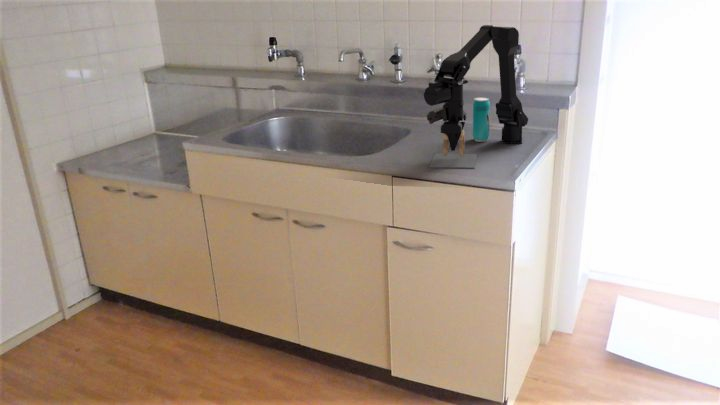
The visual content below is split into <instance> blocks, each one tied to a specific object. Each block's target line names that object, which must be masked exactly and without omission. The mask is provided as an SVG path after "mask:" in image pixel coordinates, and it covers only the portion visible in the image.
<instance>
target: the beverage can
mask: <svg viewBox="0 0 720 405" xmlns="http://www.w3.org/2000/svg"><path fill="white" fill-rule="evenodd" d="M490 104H491V102H490V98H489V97H484V96H483V97H482V96H481V97H474V99H473V103H472V137H473V140H474V141H475V142H478V143H485V142H488V140H489V137H490V115H491V114H490V110H491V109H490V108H491V105H490Z"/></svg>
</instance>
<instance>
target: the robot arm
mask: <svg viewBox="0 0 720 405" xmlns="http://www.w3.org/2000/svg"><path fill="white" fill-rule="evenodd" d="M519 33H520V32H519V30H518V29H517V28H516V27H513V26H510V27H509V26H496V25H493V24H491V25H490V24H483V25H482V26H480V27H479V30H477V32H476V33H475V34H474V35H473V36H472V37H471V39H469V40H468V41H467V42H466V43H465V44H464V46H462V48H461V49H460V50H458V51H457V52H455V53H452V54H449V55H448V56H447V57H445V59H443V60H442V62H441V63H440V67H439V69H438V72H437V74H436V76H435V77H434V80H433V81H434V82H431V81H430V82H429V83H428V87H426V88H425V90H424V92H423V98H424V101H425V103H426V104H427V105H428V106H431V107H432V106H436V105H441V104H443V105H442V106H440V107H438V108H435V109H432V110H429V111H427V113H426V114H425V116H426V117H427V118H426V120H427V121H428V123H429V124H430V125H431V124H434V123H435V122H438V121H439V122H440V121H441V120H442V124H441V126H440V133H441V134H444V133H445V134H446V135H447V136H448V139H449V148H450V150H451V151H453V152H454V151H456V148H457V146H458V144H459V143H458V142H459V138H460V135H461V133H462V130H464V127H465V124H466V120H467V112H466V111H464V105H465V104H464V103H465V102H464V85H466V84H468V83H469V81H468V79H466V78H465V77H466V75H467V73H468V71H469V70H470V69H471V64H472V62H473V60H474V59H475V58H477V56H478V55H479V54H480V53H481V52H482V51H483V50H484V49H485V47H487V46H488V44H490V42H491V43H492V48H493V50H494V51H495V53H496V54H497V55H498V56H497V57H498V67H499V68H498V69H499V82H500V99H499V101H498V102H496V103H495V109H496V110H495V115H496V116H497V118H498V123H499V124H502V125H503V127H502V128H501V141H502V143H503V144H523V127H525V126H527V125H528V122H529V117H528V116H527V115H526V113H525V112H524V110H523V105H522V104H523V103H522V102H521V100H520V99H519V97H518V95H517V86H516V83H517V82H516V66H515V53H516V51H517V48H518V47H519V43H520V42H519V39H520V37H519V36H520V34H519Z"/></svg>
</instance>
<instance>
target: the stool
mask: <svg viewBox="0 0 720 405" xmlns="http://www.w3.org/2000/svg"><path fill="white" fill-rule="evenodd" d="M442 139H443V142H442V143H443V145H442V146H443V154H444V156H447V154H448V152H449V151H450V143H449V139H448V136H447V135H446V134H445V133H443V137H442ZM458 142H459V143H458V144H459V146H458V147H459V149H458V150H459V153H458V154H459V157H463V154H464V152H465V130H464V129H463V130H462V133H461V135H460V138H459V141H458Z"/></svg>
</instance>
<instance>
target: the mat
mask: <svg viewBox="0 0 720 405" xmlns="http://www.w3.org/2000/svg"><path fill="white" fill-rule="evenodd" d="M477 158H478V153H463V157H459V153H447V156H444V153H437V152H436V153H434V156H433V158H432V160H431V162H430V164H429V169H466V170H467V169H470V170H471V169H473V170H475V168H476V167H475V166H476V162H477Z"/></svg>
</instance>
